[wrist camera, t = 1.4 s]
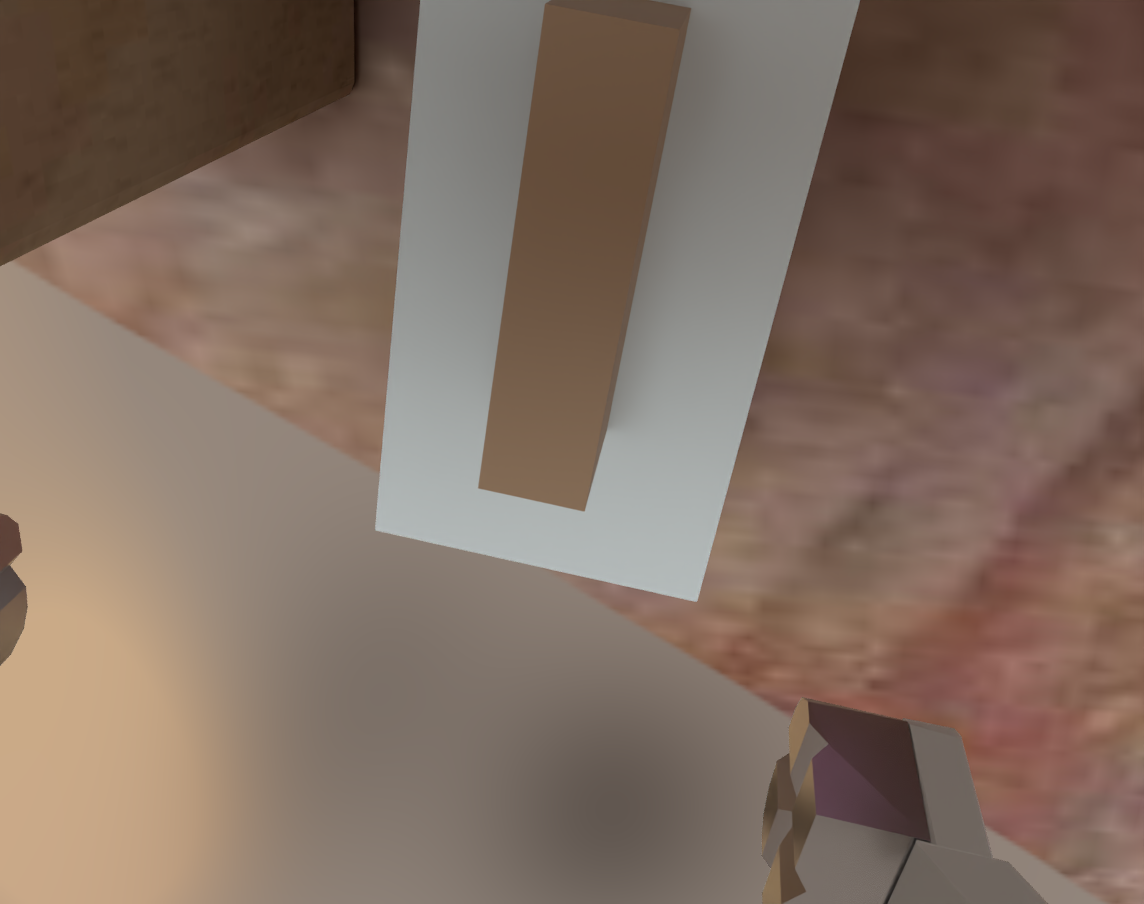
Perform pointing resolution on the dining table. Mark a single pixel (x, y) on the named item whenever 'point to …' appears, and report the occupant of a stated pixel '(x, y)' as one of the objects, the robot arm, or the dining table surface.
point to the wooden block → (148, 96)
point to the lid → (595, 270)
